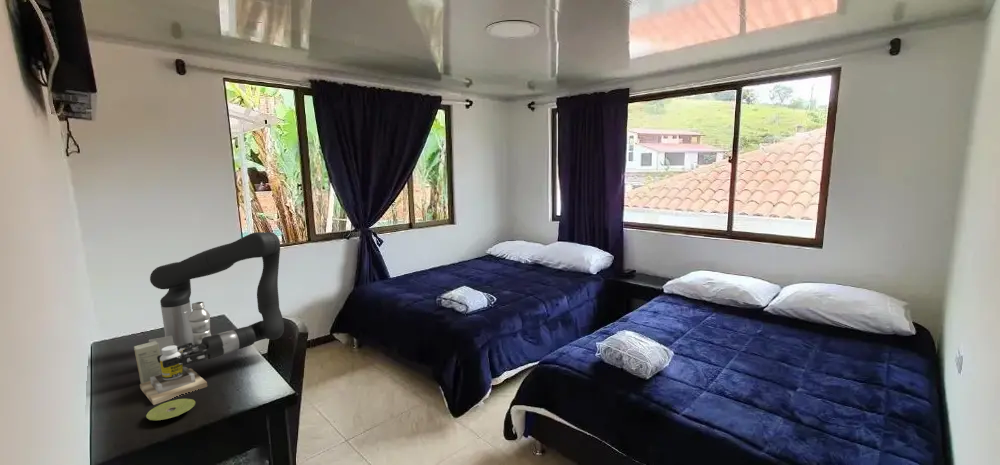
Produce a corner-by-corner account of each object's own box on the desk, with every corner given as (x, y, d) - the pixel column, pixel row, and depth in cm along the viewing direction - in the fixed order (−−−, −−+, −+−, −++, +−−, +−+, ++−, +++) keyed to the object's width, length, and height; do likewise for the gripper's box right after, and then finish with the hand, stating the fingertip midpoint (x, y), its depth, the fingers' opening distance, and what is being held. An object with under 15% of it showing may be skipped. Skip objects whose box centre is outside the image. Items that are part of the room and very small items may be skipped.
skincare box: (162, 374, 151) (157, 340, 149) (164, 378, 148) (159, 343, 146) (138, 380, 147) (133, 345, 145) (140, 385, 144) (134, 349, 142)
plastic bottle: (215, 354, 166) (208, 303, 163) (193, 359, 162) (186, 307, 159) (214, 349, 171) (208, 299, 168) (193, 353, 167) (186, 302, 164)
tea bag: (175, 363, 159) (171, 337, 158) (152, 368, 155) (148, 341, 154) (176, 359, 162) (172, 334, 161) (153, 364, 159) (149, 338, 157)
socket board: (140, 388, 141) (138, 376, 140) (191, 372, 152) (190, 361, 151) (153, 405, 131) (151, 392, 130) (207, 386, 141) (205, 374, 141)
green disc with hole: (184, 400, 133) (183, 394, 133) (204, 410, 127) (203, 404, 127) (139, 419, 123) (138, 413, 123) (158, 430, 118) (157, 424, 117)
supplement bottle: (173, 381, 138) (168, 351, 136) (158, 380, 139) (153, 351, 137) (188, 373, 143) (183, 344, 141) (174, 372, 144) (169, 343, 142)
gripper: (212, 329, 155) (152, 345, 142) (227, 338, 145) (164, 356, 133) (214, 349, 156) (155, 367, 143) (230, 359, 147) (168, 380, 134)
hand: (160, 362), depth 138 cm, fingers closed on supplement bottle, 5 cm apart
